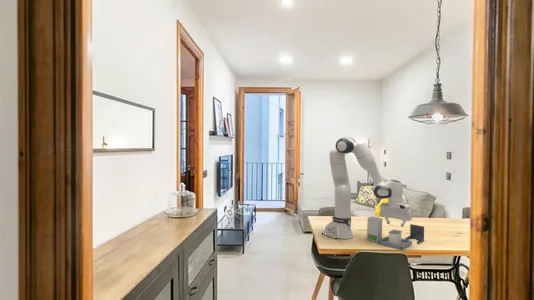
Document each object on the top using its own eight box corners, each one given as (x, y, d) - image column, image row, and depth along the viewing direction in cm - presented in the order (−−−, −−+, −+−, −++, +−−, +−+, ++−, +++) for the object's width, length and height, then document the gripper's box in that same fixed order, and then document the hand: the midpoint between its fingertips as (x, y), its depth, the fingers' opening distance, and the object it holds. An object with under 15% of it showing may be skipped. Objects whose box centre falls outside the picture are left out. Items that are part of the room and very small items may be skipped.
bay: (404, 241, 207) (404, 226, 207) (410, 238, 214) (410, 224, 214) (418, 244, 201) (418, 229, 200) (424, 241, 208) (424, 226, 208)
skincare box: (366, 239, 210) (366, 217, 210) (371, 237, 215) (371, 215, 215) (378, 242, 205) (378, 219, 204) (382, 240, 209) (382, 217, 209)
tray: (378, 244, 201) (378, 240, 201) (388, 239, 211) (388, 235, 211) (402, 250, 189) (402, 246, 189) (412, 244, 200) (412, 240, 200)
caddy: (388, 243, 199) (388, 231, 199) (393, 241, 205) (394, 229, 205) (396, 245, 196) (396, 233, 196) (401, 243, 201) (401, 231, 201)
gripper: (378, 202, 205) (378, 223, 206) (409, 207, 191) (408, 229, 191) (382, 201, 210) (382, 221, 210) (413, 206, 195) (412, 227, 195)
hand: (395, 225), depth 200 cm, fingers open, 8 cm apart
